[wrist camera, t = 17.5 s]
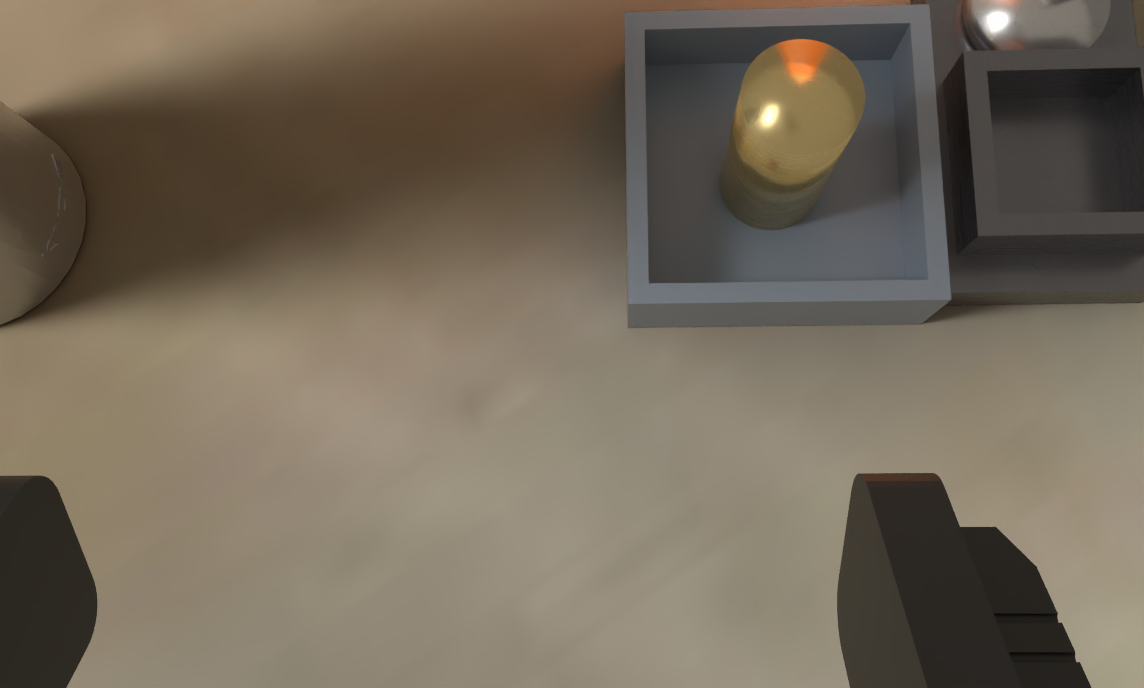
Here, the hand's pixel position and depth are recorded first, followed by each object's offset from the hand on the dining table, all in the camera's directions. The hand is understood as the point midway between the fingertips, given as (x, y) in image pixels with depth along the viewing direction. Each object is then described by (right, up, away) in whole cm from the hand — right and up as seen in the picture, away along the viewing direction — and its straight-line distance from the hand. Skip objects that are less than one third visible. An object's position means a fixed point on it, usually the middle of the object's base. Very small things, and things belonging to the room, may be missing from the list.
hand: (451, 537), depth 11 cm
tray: (+9, +8, +33) cm, 35 cm away
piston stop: (+9, +8, +32) cm, 34 cm away
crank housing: (+19, +10, +33) cm, 39 cm away
